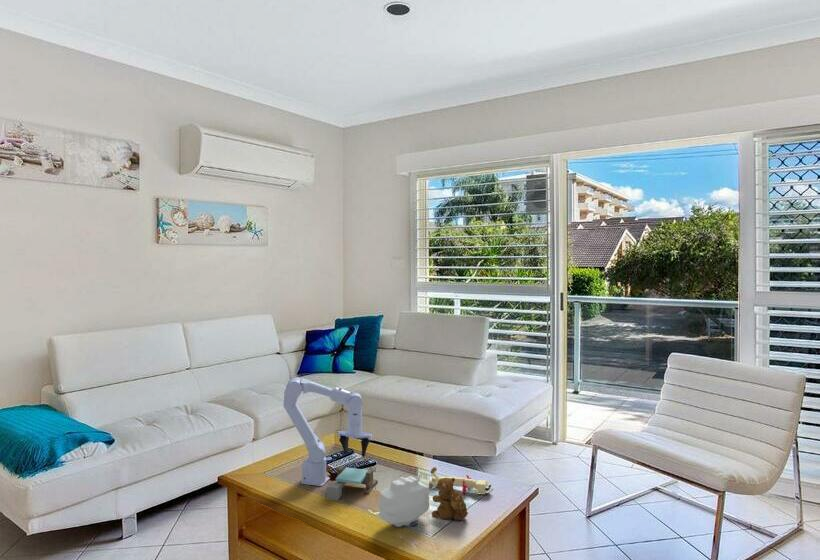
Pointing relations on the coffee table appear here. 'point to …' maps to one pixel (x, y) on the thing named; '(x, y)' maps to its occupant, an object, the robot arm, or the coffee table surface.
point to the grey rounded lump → (404, 501)
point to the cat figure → (462, 483)
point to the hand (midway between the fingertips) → (354, 455)
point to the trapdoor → (352, 476)
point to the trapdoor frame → (369, 479)
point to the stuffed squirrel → (449, 501)
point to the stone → (334, 490)
